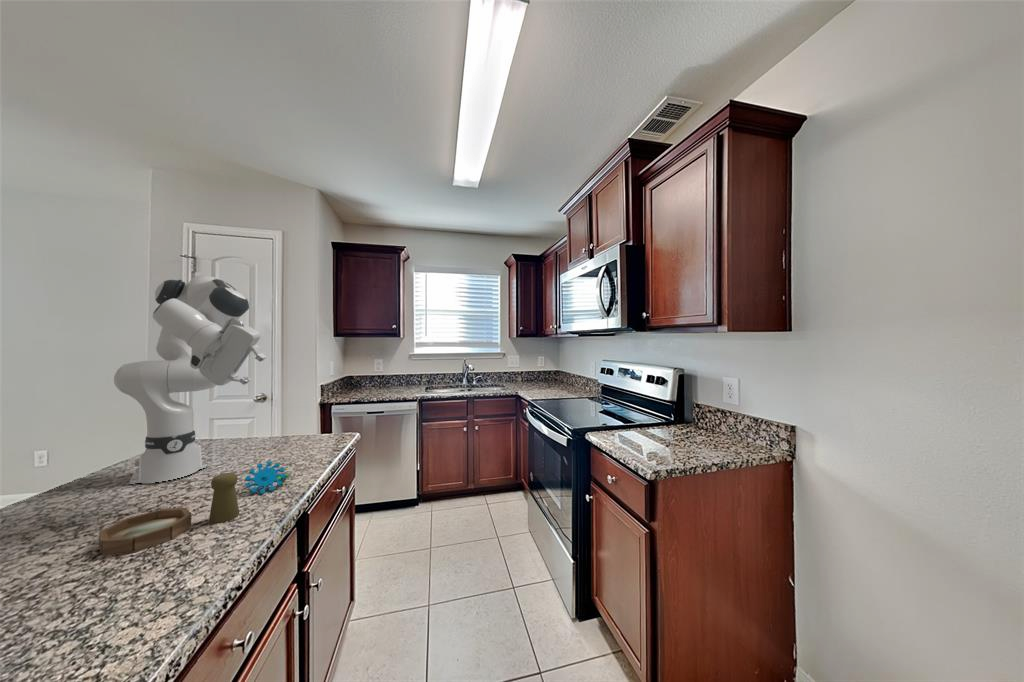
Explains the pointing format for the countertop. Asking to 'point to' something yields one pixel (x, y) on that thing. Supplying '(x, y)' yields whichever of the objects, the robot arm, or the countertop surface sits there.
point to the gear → (266, 477)
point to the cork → (224, 498)
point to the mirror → (144, 531)
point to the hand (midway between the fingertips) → (255, 370)
